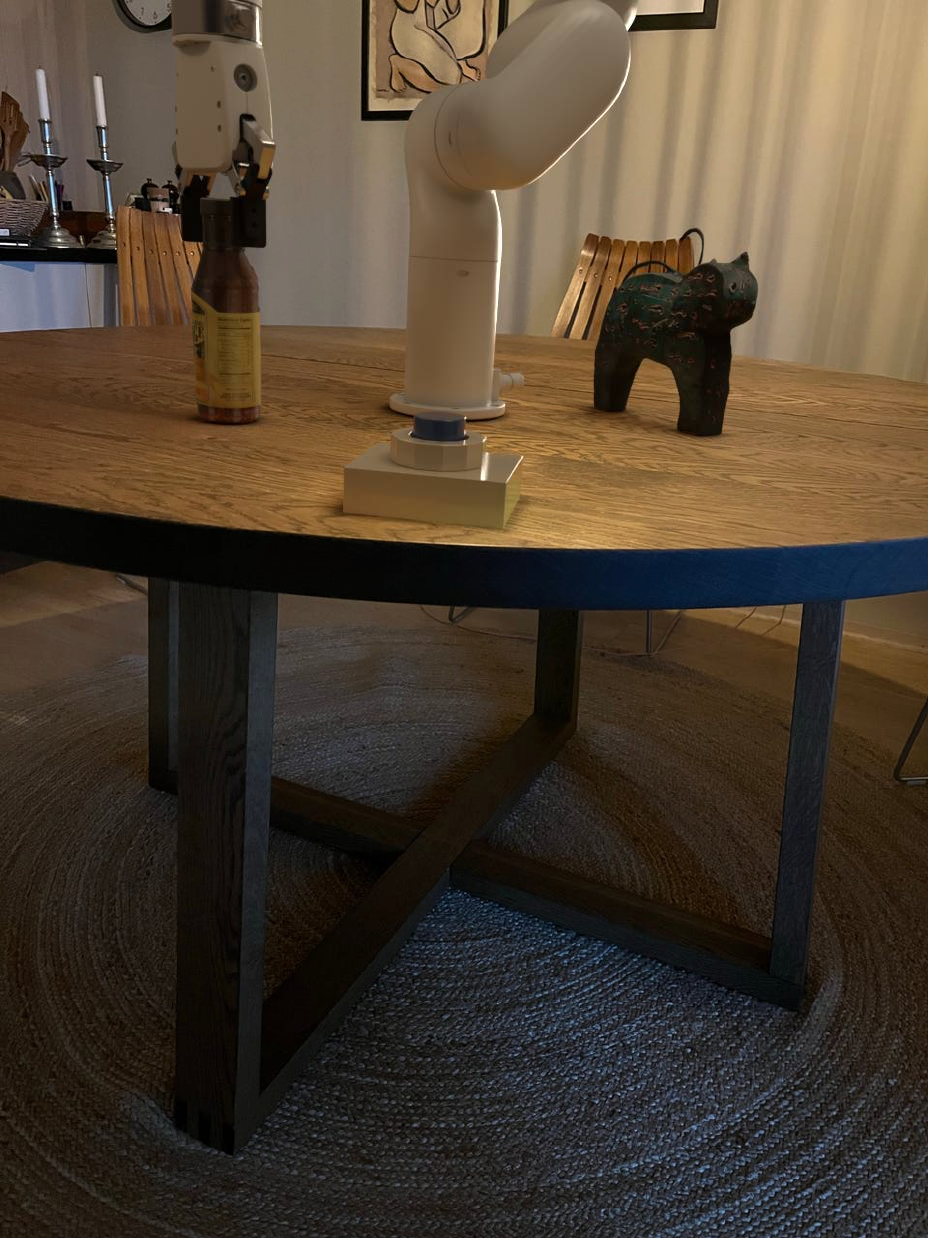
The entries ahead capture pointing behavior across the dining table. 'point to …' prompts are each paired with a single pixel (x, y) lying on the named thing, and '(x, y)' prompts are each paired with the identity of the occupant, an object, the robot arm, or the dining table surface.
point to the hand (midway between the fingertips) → (222, 244)
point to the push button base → (434, 481)
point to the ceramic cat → (676, 335)
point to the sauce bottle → (225, 324)
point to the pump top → (439, 426)
